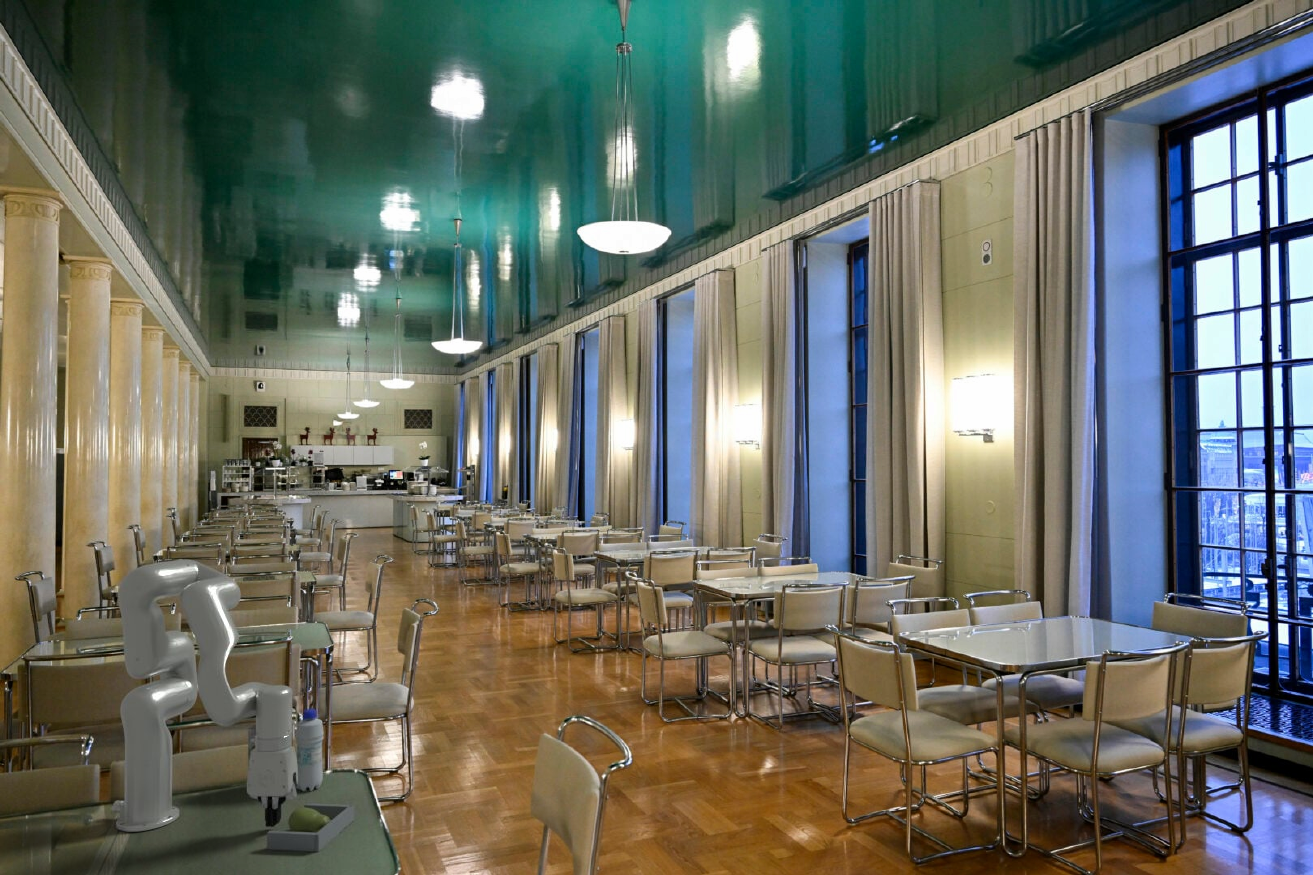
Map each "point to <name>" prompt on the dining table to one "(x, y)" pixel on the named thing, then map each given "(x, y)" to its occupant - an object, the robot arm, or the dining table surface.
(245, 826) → the dining table surface
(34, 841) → the dining table surface
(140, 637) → the robot arm
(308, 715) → the bottle
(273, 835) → the box
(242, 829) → the dining table surface
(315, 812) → the pear
